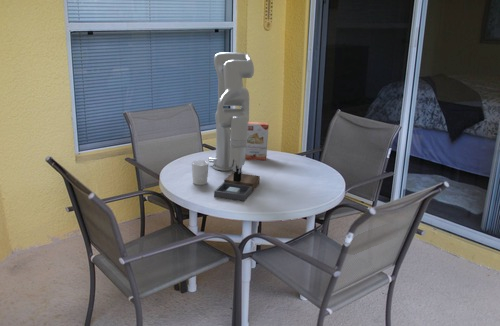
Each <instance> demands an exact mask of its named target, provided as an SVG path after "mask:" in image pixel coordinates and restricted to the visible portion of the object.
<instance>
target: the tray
mask: <svg viewBox="0 0 500 326" xmlns="http://www.w3.org/2000/svg"><path fill="white" fill-rule="evenodd" d="M229 187H235V188H240V194H235V193H229V192H226V190H227V189H228V188H229ZM252 193H253V192H252V186H246V185H239V184H232V183H225V182H224V181H223V182H222V183H221V184H220V185H219V186H218V187H217V188H216V189H215V190H214V192H213V195H214V196H213V197H214V198H217V199H223V200H229V201H236V202H242V203H245V201H246V200H247V199H248V198H249V197H250V196H251V194H252Z"/></svg>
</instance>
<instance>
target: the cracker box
mask: <svg viewBox="0 0 500 326" xmlns="http://www.w3.org/2000/svg"><path fill="white" fill-rule="evenodd" d="M269 128H270V127H269V122H264V121H263V122H261V121H260V122H259V121H258V122H257V121H249V123H248V135H247V147H245V160H246V161H247V160H249V161H252V160H253V161H267V156H268V155H267V153H268V141H269V138H268V137H269Z"/></svg>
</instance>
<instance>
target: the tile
mask: <svg viewBox="0 0 500 326" xmlns="http://www.w3.org/2000/svg"><path fill="white" fill-rule="evenodd" d="M226 192H229V193H235V194H240V188H235V187H229V188H228V189H227V190H226Z"/></svg>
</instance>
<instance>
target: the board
mask: <svg viewBox="0 0 500 326" xmlns="http://www.w3.org/2000/svg"><path fill="white" fill-rule="evenodd" d="M233 178H234V172H233V171H232V172H231V173H230V174H229V175H228V176H227V177H226V178H224V181H223V182H225V183H232V184H239V185H246V186H252V193H253V192H254V191H255V190H256V189H257V188H258V186H259V185H260V181H261V180H260V179H261V176H260V175H256V174H255V175H254V174H247V173H241V181H240V182H236V181H233Z"/></svg>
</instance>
